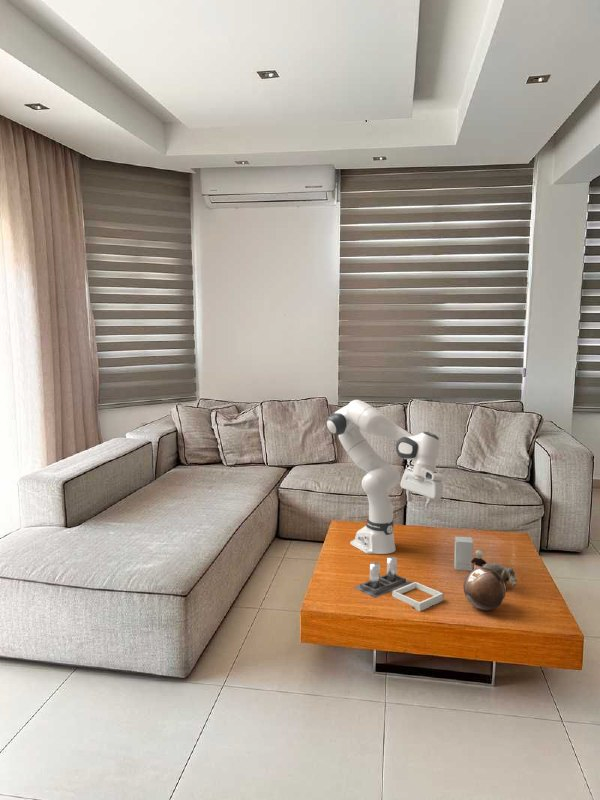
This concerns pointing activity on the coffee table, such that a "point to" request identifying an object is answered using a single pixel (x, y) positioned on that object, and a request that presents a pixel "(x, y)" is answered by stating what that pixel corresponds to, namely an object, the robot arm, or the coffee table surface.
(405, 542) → the coffee table surface
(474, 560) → the grandmother figurine
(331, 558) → the coffee table surface
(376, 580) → the seated billet
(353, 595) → the coffee table surface
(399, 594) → the white square frame
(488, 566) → the rhinoceros figurine
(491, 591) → the brown metallic sphere
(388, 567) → the ball
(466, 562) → the supplement box
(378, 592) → the tray
